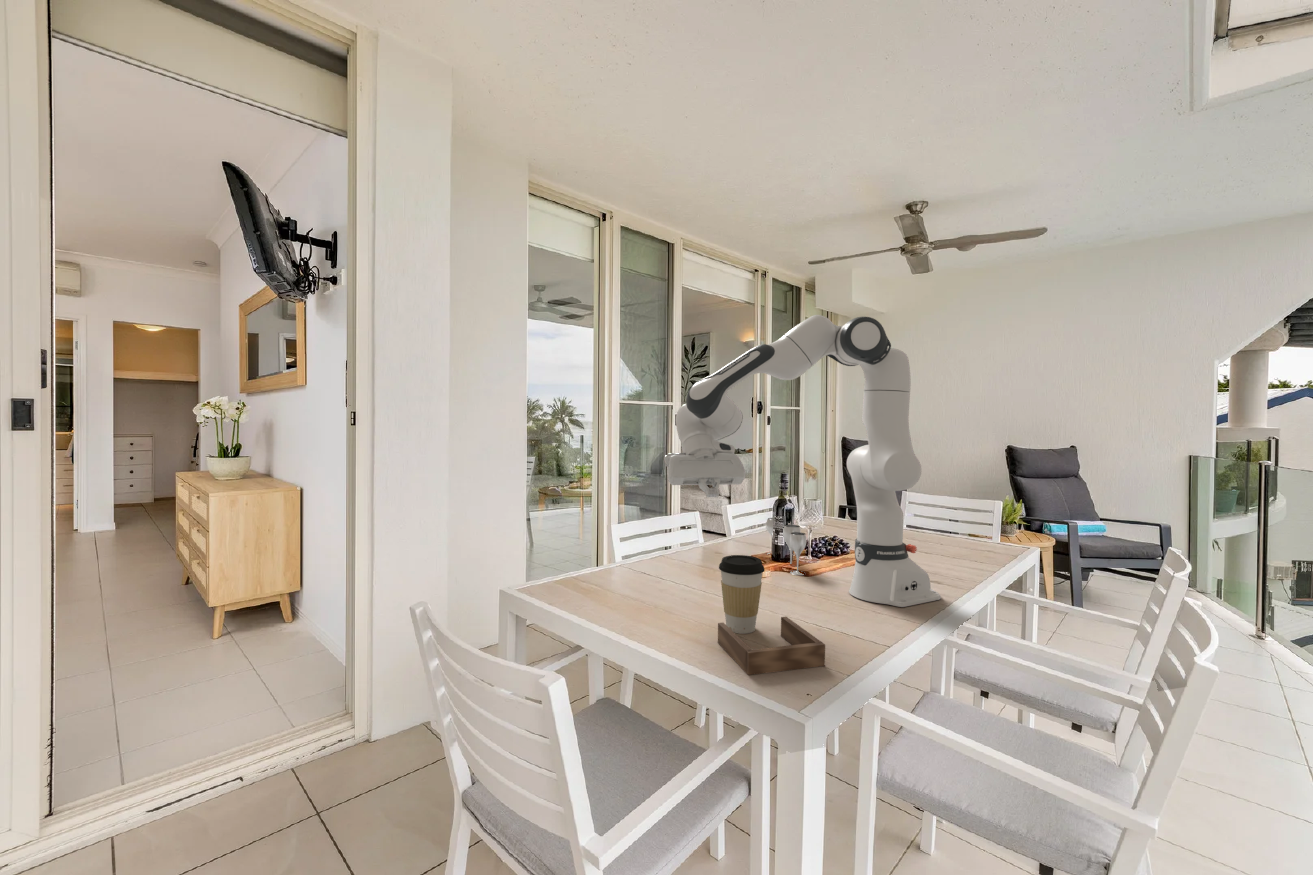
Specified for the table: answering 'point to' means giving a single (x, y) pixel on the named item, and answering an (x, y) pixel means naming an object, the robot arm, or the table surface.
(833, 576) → the table surface
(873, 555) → the robot arm
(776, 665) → the walnut caddy
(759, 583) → the coffee cup
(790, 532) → the goblet set
